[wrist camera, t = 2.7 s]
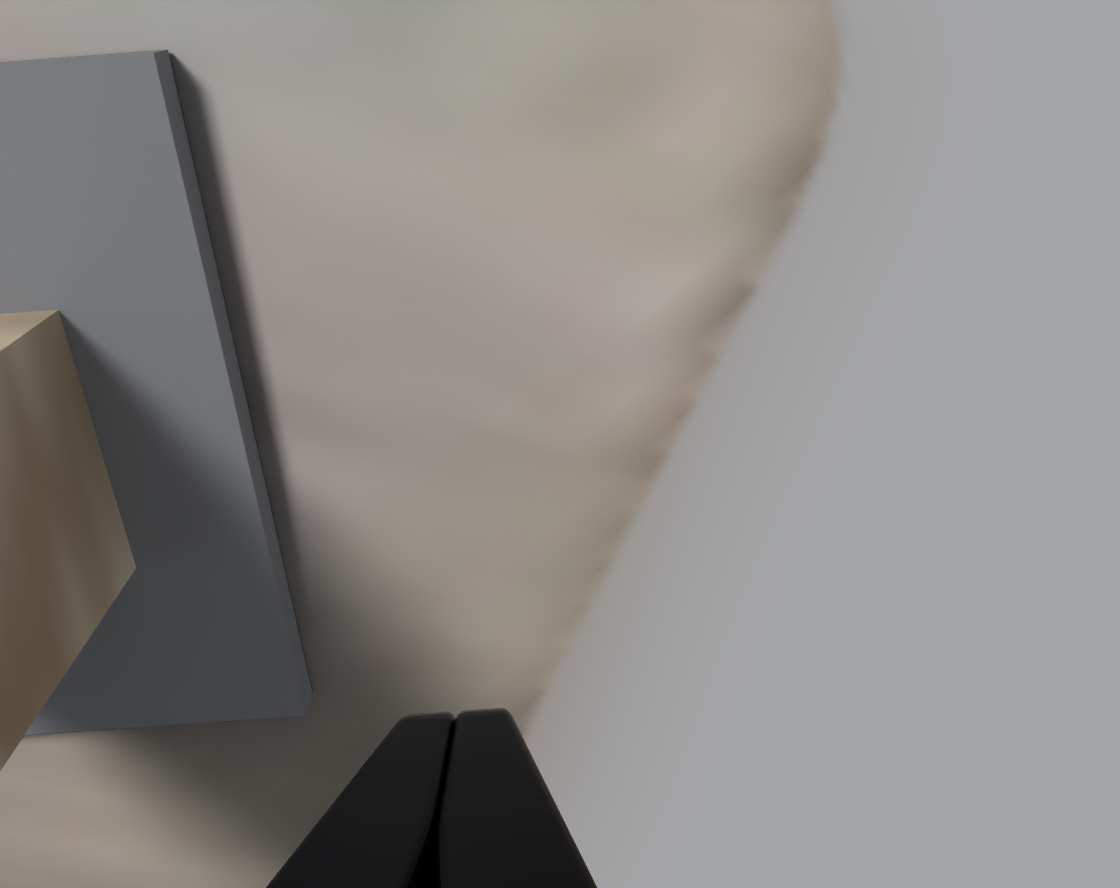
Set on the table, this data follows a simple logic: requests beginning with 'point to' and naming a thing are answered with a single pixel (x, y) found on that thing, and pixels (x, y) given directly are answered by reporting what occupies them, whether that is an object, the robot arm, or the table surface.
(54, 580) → the beech block
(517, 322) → the table surface
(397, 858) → the robot arm
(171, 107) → the rubber mat
